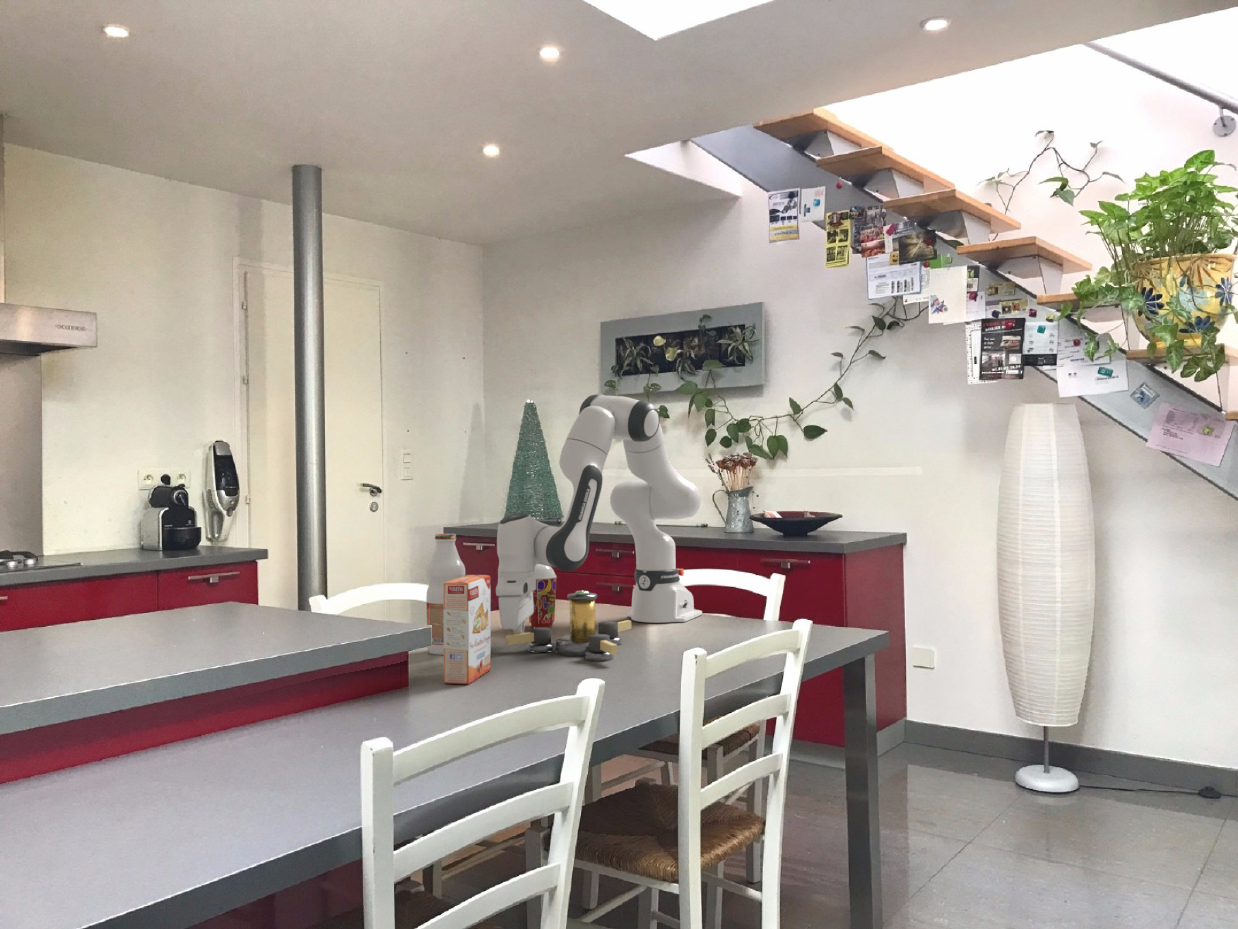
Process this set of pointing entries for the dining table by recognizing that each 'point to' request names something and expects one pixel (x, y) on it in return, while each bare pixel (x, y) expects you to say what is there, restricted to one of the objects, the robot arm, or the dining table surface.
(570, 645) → the tribrach
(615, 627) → the lever knob
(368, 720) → the dining table surface
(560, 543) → the robot arm
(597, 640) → the knob
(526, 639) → the knob
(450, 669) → the cracker box
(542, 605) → the smoothie
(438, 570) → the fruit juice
